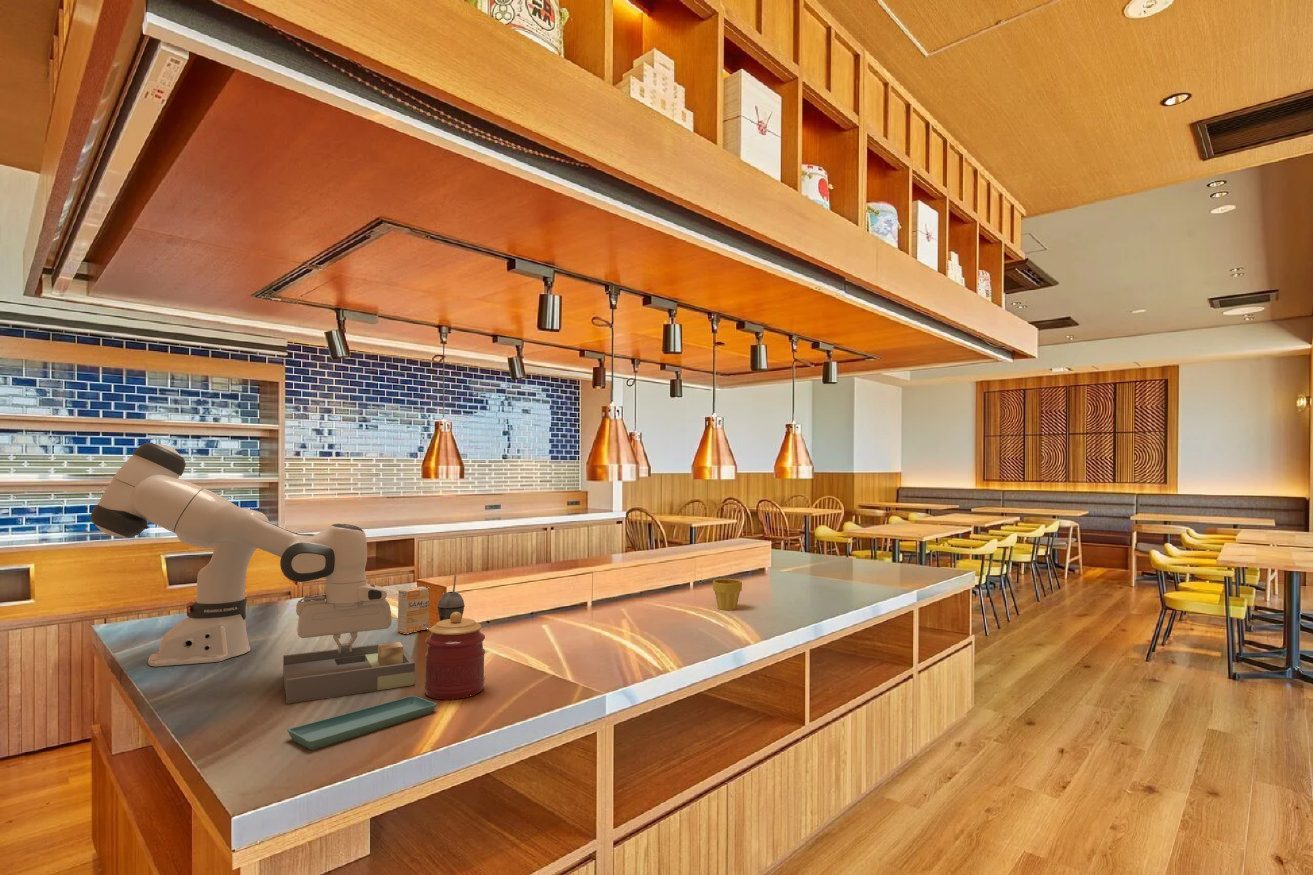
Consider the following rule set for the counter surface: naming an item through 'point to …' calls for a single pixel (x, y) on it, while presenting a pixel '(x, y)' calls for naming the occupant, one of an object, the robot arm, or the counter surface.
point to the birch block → (390, 654)
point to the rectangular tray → (360, 722)
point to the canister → (454, 659)
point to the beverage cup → (450, 604)
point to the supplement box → (413, 609)
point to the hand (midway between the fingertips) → (344, 652)
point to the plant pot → (727, 593)
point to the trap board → (342, 673)
